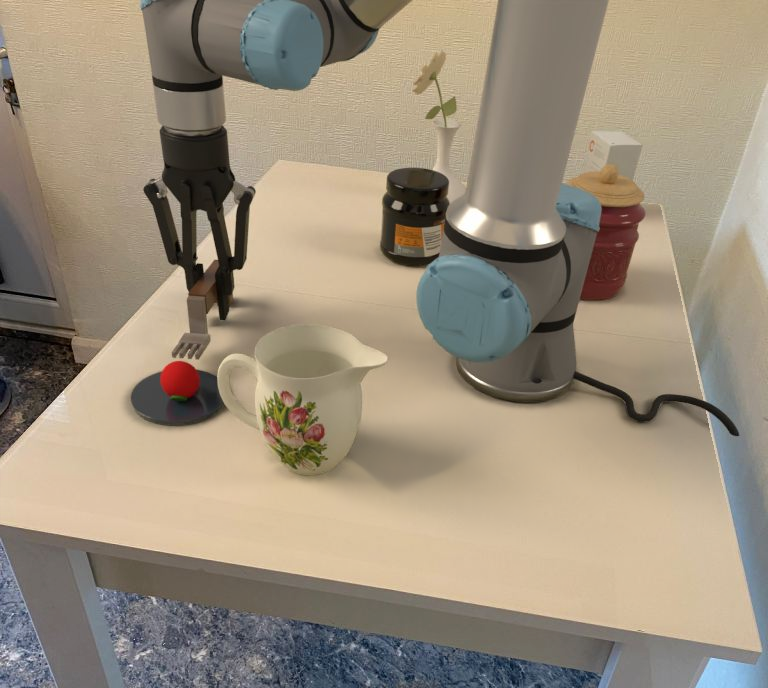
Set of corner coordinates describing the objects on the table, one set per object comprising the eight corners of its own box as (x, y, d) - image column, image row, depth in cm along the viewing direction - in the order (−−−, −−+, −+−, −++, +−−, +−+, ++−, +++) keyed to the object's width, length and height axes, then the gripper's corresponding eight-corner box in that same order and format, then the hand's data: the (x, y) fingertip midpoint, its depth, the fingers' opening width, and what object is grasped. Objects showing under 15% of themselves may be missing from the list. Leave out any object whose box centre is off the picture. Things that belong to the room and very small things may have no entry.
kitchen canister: (536, 293, 112) (562, 173, 100) (543, 259, 121) (567, 144, 109) (622, 307, 110) (659, 186, 98) (623, 271, 120) (657, 156, 107)
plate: (246, 393, 88) (245, 389, 88) (179, 437, 82) (179, 433, 81) (179, 362, 93) (178, 358, 92) (111, 402, 86) (110, 397, 85)
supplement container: (440, 272, 116) (449, 194, 107) (374, 263, 116) (378, 185, 108) (446, 245, 123) (455, 170, 115) (384, 237, 124) (389, 162, 116)
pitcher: (244, 410, 86) (234, 301, 77) (393, 441, 83) (401, 332, 74) (203, 467, 78) (187, 354, 69) (366, 503, 75) (372, 390, 66)
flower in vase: (439, 188, 142) (455, 37, 125) (481, 208, 136) (504, 52, 119) (388, 201, 136) (397, 44, 119) (429, 223, 130) (445, 60, 113)
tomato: (208, 362, 85) (205, 400, 84) (189, 369, 88) (187, 406, 88) (172, 353, 82) (170, 392, 81) (155, 360, 85) (152, 398, 85)
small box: (622, 220, 136) (643, 144, 127) (591, 221, 135) (610, 145, 126) (603, 203, 142) (622, 130, 133) (573, 204, 140) (590, 130, 131)
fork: (213, 297, 105) (210, 259, 102) (236, 299, 105) (234, 260, 102) (172, 358, 88) (167, 314, 84) (199, 360, 88) (195, 316, 84)
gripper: (265, 121, 86) (274, 305, 102) (135, 110, 86) (165, 297, 102) (253, 141, 81) (265, 333, 97) (115, 130, 81) (149, 323, 97)
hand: (213, 314), depth 99 cm, fingers closed on fork, 2 cm apart
